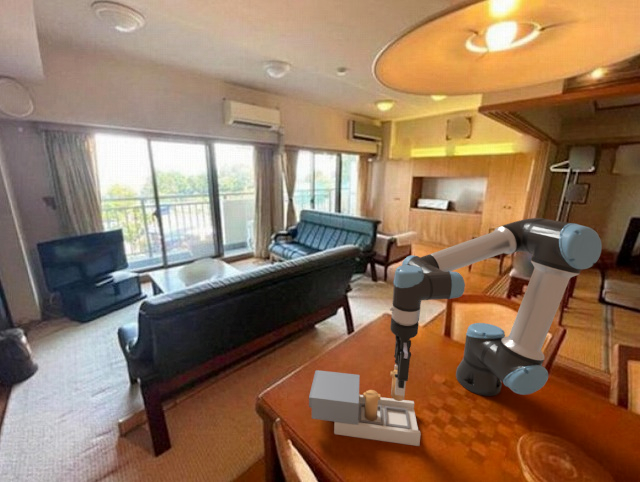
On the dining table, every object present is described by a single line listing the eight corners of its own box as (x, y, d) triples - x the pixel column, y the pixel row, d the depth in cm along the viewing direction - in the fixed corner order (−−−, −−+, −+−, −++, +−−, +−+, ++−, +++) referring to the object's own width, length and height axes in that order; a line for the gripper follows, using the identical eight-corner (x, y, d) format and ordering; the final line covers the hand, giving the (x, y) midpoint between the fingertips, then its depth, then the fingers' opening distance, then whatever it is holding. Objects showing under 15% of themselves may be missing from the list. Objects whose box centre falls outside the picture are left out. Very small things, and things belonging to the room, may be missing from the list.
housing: (412, 412, 94) (413, 401, 93) (419, 446, 82) (420, 433, 81) (337, 402, 97) (338, 392, 96) (334, 434, 86) (334, 422, 85)
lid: (358, 394, 95) (359, 374, 93) (357, 424, 84) (358, 403, 82) (315, 388, 97) (315, 370, 96) (309, 418, 86) (308, 397, 84)
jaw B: (405, 391, 88) (407, 369, 86) (407, 401, 84) (409, 379, 82) (388, 389, 88) (390, 367, 86) (389, 399, 84) (391, 377, 83)
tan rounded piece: (378, 411, 91) (380, 390, 89) (379, 422, 87) (380, 400, 85) (362, 409, 92) (363, 388, 90) (362, 419, 88) (363, 398, 86)
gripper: (388, 304, 88) (384, 369, 94) (394, 334, 72) (388, 409, 78) (413, 306, 87) (407, 371, 93) (424, 337, 71) (416, 413, 77)
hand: (398, 388), depth 85 cm, fingers closed on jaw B, 4 cm apart
